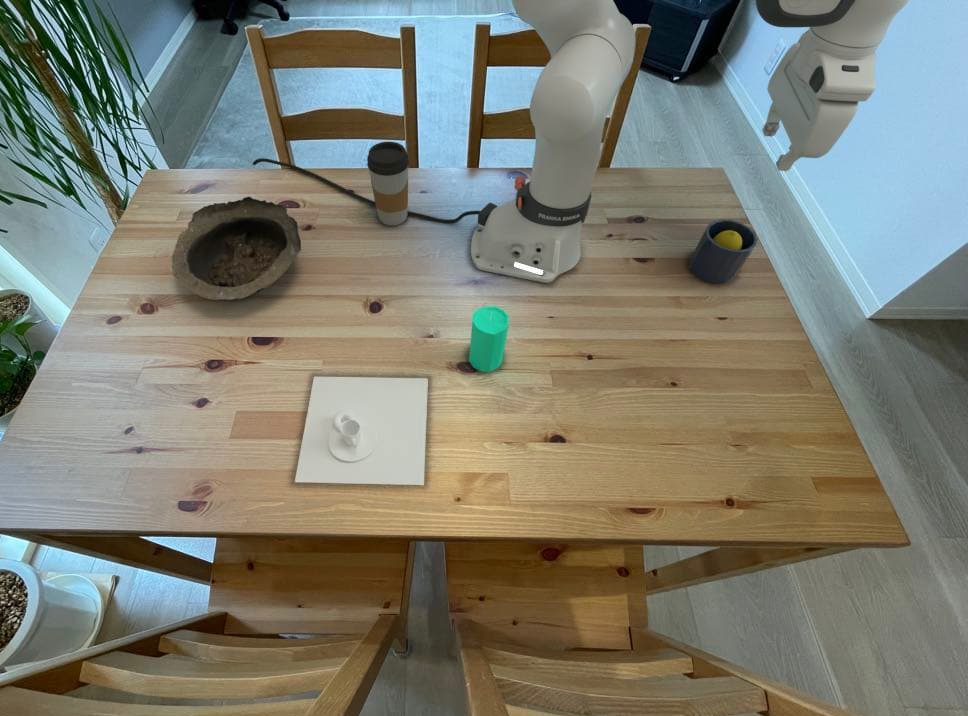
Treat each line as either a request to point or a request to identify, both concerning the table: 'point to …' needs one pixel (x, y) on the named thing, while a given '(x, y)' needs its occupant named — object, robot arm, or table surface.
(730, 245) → the lemon
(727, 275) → the glazed cup
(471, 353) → the candle
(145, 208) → the table surface
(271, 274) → the stone bowl
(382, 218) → the coffee cup
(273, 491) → the table surface
